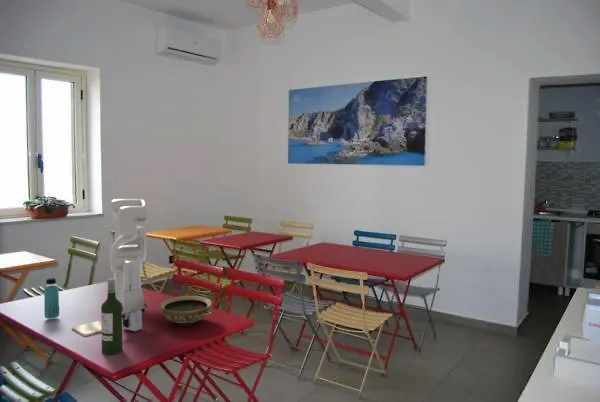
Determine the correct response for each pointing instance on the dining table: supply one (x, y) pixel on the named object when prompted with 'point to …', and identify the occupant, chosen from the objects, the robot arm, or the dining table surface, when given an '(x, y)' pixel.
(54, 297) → the beverage bottle
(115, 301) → the wine bottle
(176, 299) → the ceramic bowl
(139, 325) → the medicine box
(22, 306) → the dining table surface
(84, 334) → the birch board
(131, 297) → the robot arm
